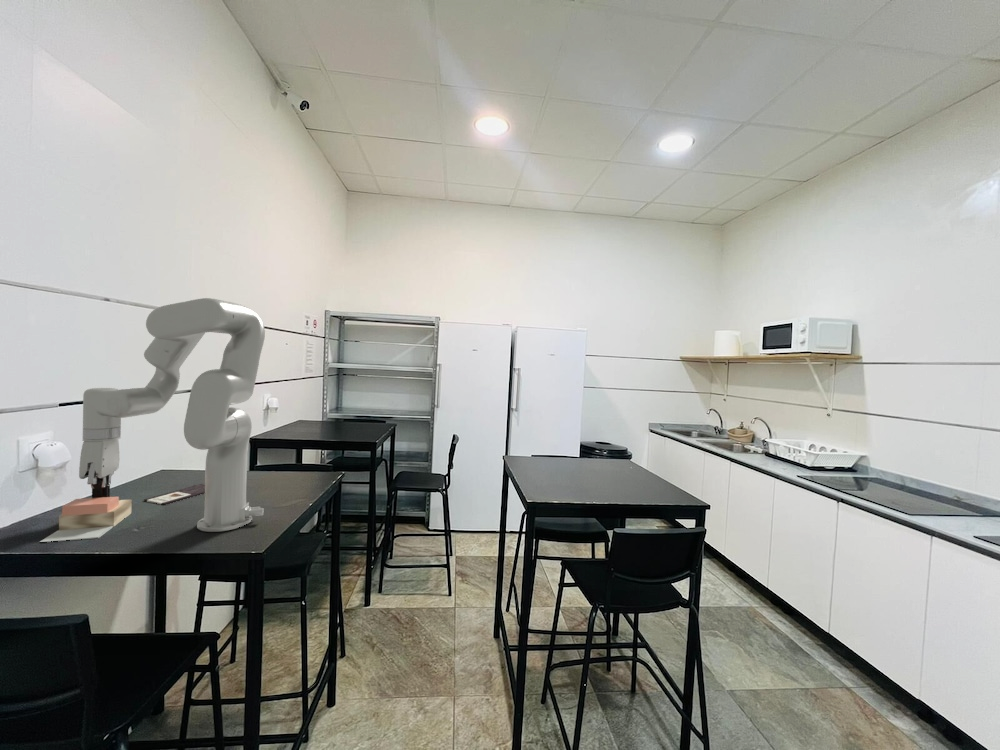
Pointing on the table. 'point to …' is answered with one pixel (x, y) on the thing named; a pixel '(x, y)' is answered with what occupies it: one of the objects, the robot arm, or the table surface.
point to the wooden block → (96, 518)
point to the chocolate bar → (177, 495)
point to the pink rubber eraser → (90, 506)
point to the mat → (77, 534)
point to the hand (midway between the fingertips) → (100, 500)
